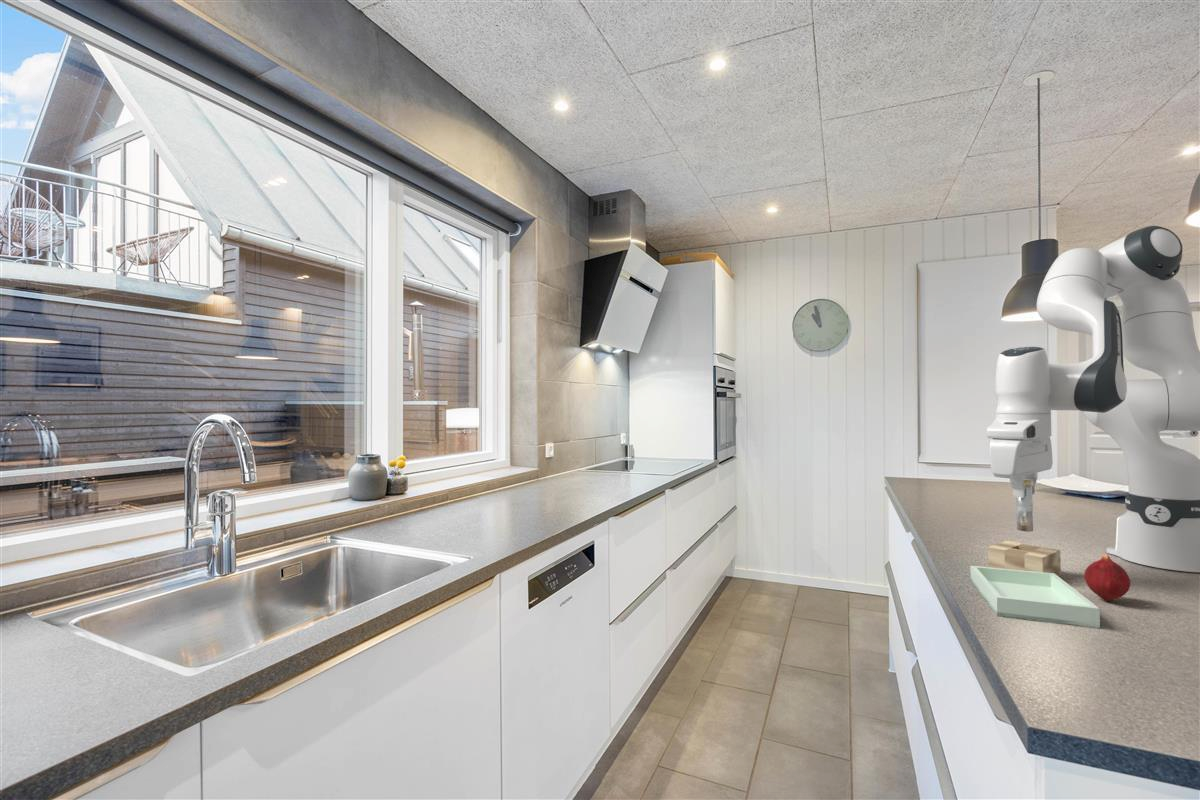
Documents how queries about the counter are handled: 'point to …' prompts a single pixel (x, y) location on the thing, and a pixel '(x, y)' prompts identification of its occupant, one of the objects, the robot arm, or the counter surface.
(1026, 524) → the steel pin
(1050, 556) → the hitch block
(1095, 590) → the onion
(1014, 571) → the tray
